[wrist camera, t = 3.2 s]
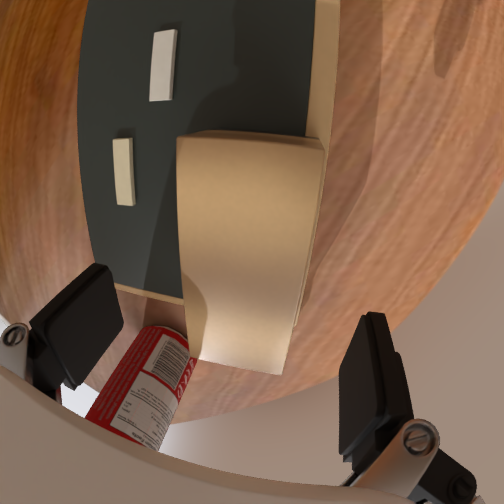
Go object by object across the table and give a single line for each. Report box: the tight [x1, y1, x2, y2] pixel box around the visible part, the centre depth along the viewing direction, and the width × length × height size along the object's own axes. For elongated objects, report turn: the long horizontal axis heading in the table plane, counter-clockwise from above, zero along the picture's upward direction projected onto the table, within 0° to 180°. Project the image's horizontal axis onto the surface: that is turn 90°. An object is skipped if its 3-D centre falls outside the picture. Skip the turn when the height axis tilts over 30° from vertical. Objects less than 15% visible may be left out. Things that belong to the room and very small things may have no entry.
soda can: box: [85, 326, 197, 452], centre depth 17 cm, size 6×6×12 cm
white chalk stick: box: [149, 29, 178, 101], centre depth 11 cm, size 4×1×1 cm, turn 177°
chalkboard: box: [77, 0, 340, 326], centre depth 13 cm, size 24×15×1 cm, turn 177°
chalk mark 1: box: [113, 138, 136, 206], centre depth 14 cm, size 4×1×1 cm, turn 177°
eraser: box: [176, 128, 325, 375], centre depth 13 cm, size 11×5×4 cm, turn 177°
